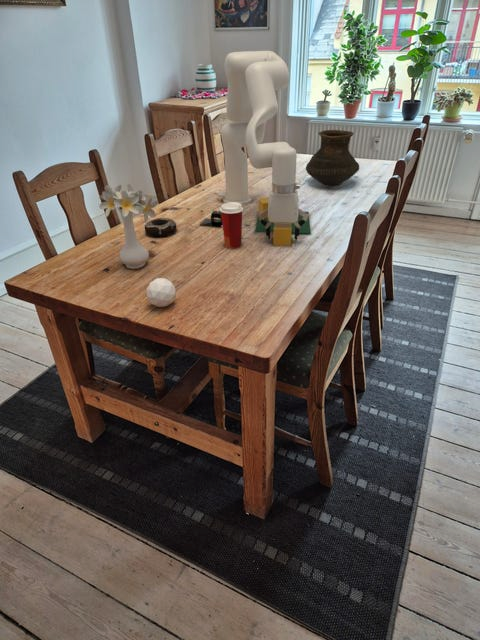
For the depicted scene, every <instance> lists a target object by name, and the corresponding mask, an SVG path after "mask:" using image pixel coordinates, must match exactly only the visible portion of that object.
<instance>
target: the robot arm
mask: <svg viewBox="0 0 480 640" xmlns="http://www.w3.org/2000/svg"><path fill="white" fill-rule="evenodd" d="M224 72H225V75H226V80H227V91H226V92H227V94H226V117H227V119H228V120H229V121H230V122H227V123H225V124H224V125H222V127H221V129H220V138H221V142H222V149H223V155H224V156H223V157H224V174H225V177H224V178H225V189H223V190H216V191H215V195H216V196H217V197H219V198H222V202H223V204H225V203H229V202H235V203H240V204H241V205H244V204H247V203H250V202H252V201H253V196H252V195H250V194H249V166H248V165H249V163H250V165H251V167H252V168H253V169H257V170H260V169H268V168H271V190H270V191H269V194H268V197H269V201H268V209H266V210H264V211H263V212H261V213H259V214H258V213H257V217H258V218H259V220H260V221H261V223H262V224H263V225H264V226H265V228H266V233H265V237H267V239H268V240H270V239H271V233H270V225H271V224H272V223H294V224H295V234H294V239H295V240H298V237H300V234H299V228H300V227H301V226H302V225H303V224H304V223H305V221H306V220H307V219H308V217H309V218H310V215H308V214H307V213H305V212H306V211H304V210H302V209H300V208H299V194H298V189H299V190H300V189H301V184H300V183H297V182H296V181H297V179H296V177H297V150H296V149H295V148H294V147H292V146H291V145H290V144H289V143H288V142H286V141H275V142H266V143H265V142H263V141H264V138H265V133H266V126H267V121H269V120H270V119H272V118H273V117H275V116H276V115H277V114H278V112H279V104H278V99H277V94H276V91H279V90H284V89H286V88H287V87H288V85H289V83H290V71H289V67H288V66H287V63H286V62H285V60H284V59H282V58H281V56H279V55H278V54H277V53H276V52H275V51H272V50H248V51H247V50H245V51H233V52H229V53H228V54H227V55H226V57H225V59H224ZM242 148H246V151H247V154H246V153H245V151H244V150H243V149H242ZM248 160H249V163H248ZM266 214H268V221H266V220H265V219H264V218H263V216H265V215H266ZM298 214H300V215H301V216H303V219H302V220H300V221H298Z"/></svg>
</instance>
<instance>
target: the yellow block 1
mask: <svg viewBox="0 0 480 640" xmlns="http://www.w3.org/2000/svg"><path fill="white" fill-rule="evenodd" d="M257 200H258V212H259V213H261V212H263V211H264V210H266V209H268V201H269V196H268V197H261V198H258V199H257ZM263 218H268V214H266V215H265V216H263Z"/></svg>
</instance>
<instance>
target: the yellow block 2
mask: <svg viewBox="0 0 480 640" xmlns="http://www.w3.org/2000/svg"><path fill="white" fill-rule="evenodd" d="M291 233H292V223H274V233H273V243H272V244H273V246H280V247H281V246H283V247H284V246H289V247H292V234H291Z"/></svg>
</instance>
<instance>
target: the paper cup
mask: <svg viewBox="0 0 480 640" xmlns="http://www.w3.org/2000/svg"><path fill="white" fill-rule="evenodd" d="M219 211H221V216H222V225H221V226H222V227H223V228H222V232H223V240H224V246H225V248H227V249H237V248H240V247H241V246H242V235H243V232H242V230H243V211H244V207H243V204H240V203H235V202H229V203H223V204H221V206H220V208H219Z"/></svg>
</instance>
